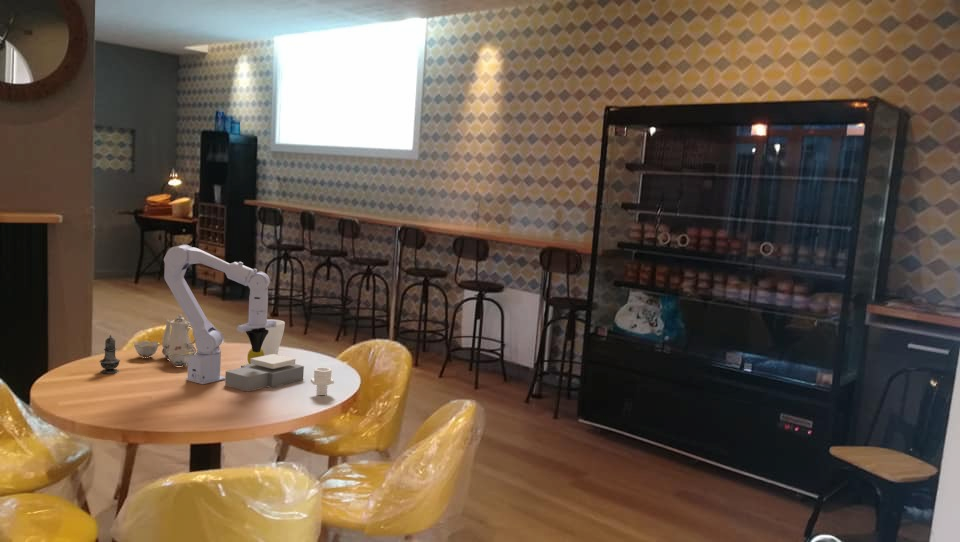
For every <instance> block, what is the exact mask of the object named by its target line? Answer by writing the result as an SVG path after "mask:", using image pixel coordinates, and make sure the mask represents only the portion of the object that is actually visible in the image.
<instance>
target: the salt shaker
mask: <svg viewBox="0 0 960 542" xmlns="http://www.w3.org/2000/svg"><path fill="white" fill-rule="evenodd" d="M104 345H105V347H104V348H103V350H104V357H103V359H101V360H99V363H100V366H101V368H103V369H101V370H100V371H99V372H100V374H102V375H103V374H104V375H106V374H107V375H111V374H117V372H118V373H119V372H120V370H119V369H117V368H118V367H119V365H120V362H121V359H118V358H117V355H116V350H117V347H116V338H114V337H112V335H109V337H107V338H106V339H105V343H104Z"/></svg>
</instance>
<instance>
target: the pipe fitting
mask: <svg viewBox="0 0 960 542" xmlns="http://www.w3.org/2000/svg"><path fill="white" fill-rule="evenodd" d="M313 370H314V371H313V377H311V378H310V383H311V384H312V385H314V386H315V385H316V390H315V391H316V396H318V395H325V396H327V395H326V394H328V387H329V385H332V384H334V383H335V380H334V379H333V378H332V368H330V367H324V366H323V367H321V366H320V367H316V368H314V369H313Z"/></svg>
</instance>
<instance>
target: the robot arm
mask: <svg viewBox="0 0 960 542" xmlns="http://www.w3.org/2000/svg"><path fill="white" fill-rule="evenodd" d="M163 262H164V272H163V273H164V277H163V278H164V281H165V282H166V284H167V286H168V287H169V289H170V291H171V293H172V295H173V297H174V298H175V300H176V302H177V303H178V306H179V307H180V309H181V311H182V312H183V314H184V316H185V318H186V319H187V320H186V321H189V325H190V326H191V327H192V328H191V327H190V328H191V329H192V337H193V338H194V340H195V343H194V346H195V349H196V353H195V354H194V355H192V356H191V357H190V358H189V360H188V364H187V378H185V381H188V382H189V381H190V382H192V383H197V384H200V385H205V384H210V383H214V382H219V381H222V380H225V376H223V375H221V360H222V359H221V357H222V350H221V348H220V346H221V345H222V343H223V341H224V337H223V334H222V333H221V331H220V330H218V329H217V328H216V327H215V326H214V324H213V323H212V322H211V321H209V320H208V318H207V316H206V315H205V313H204V311H203V310H202V307H201V306H200V304H199V302H198V300H197V299H196V297H195V295H194V293H193V292H192V290H191V288H190V286H189V284H188V283H187V281H186V279H185V274H186V272H187V269H188V267H189V266H190V265H194V264H196V265H197V264H202V265H204V266H207V267H209V268H212V269H214V270H217V271H220V272H221V273H222V272H223V273H225V275H226V278H227V279H228V280H231V281H234V282H236V283H238V284H241V285H243V286H245V287H248V289H249V296H248V299H249V300H248V319H247V320H248V321H247V323H246V322H245V323H243V324H241V325H240V324H239V325H237V329H236V331H237V333H240V334H243V333H244V332H245V333H246V335H247V337H248V340H249V342H250V345H251V346H250V347H251V348H252V351H253V352H260V350H261V347H262V344H263V341H264V339H265V337H266V335H267V334H268V330H266V329H265V328H270V327H276V321H267V319H268V306H269V289H268V287H269V286H270V283H271V279H270V276H269V275H268V274H267V273H266V272H264V271H263V270H262V271H258V269H257V268H251V267H249V266H246V265H244V262H242V261H234V262H231V263H229V262H227V261H226V260H223V259H221V258H219V257H217V256H215V255H213V254H211V253H209V252H207V251H204V250H202V249H200V248H197V247H196V246H195V247H194V246H193V247H192V246H191V245H188V244H180V245H178V246H177V245H176V246H172V247H170V248H168V250H167V251H166V254H165V256H164V258H163Z"/></svg>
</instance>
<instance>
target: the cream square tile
mask: <svg viewBox="0 0 960 542" xmlns="http://www.w3.org/2000/svg"><path fill="white" fill-rule="evenodd" d="M250 363H251V364H255V365H259V366H263V367H267V368H271V369H275V368H279V367H283V366H288V365H292V364H296V359H295V358H293V357H290V356H284V355H281V354H278V355H276V354H270V355H265V356H261V357H256V358H251V361H250Z"/></svg>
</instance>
